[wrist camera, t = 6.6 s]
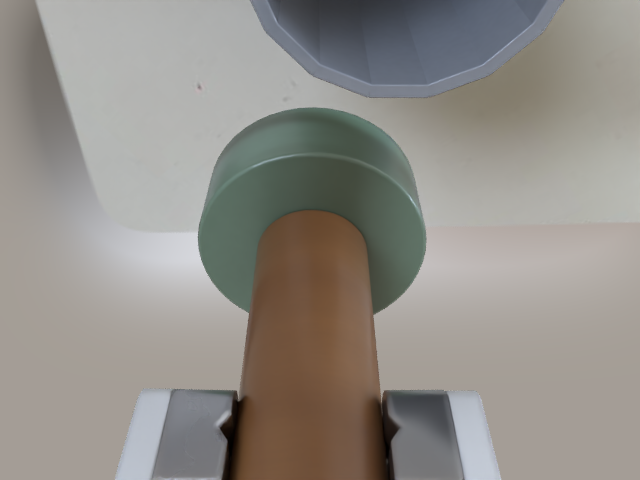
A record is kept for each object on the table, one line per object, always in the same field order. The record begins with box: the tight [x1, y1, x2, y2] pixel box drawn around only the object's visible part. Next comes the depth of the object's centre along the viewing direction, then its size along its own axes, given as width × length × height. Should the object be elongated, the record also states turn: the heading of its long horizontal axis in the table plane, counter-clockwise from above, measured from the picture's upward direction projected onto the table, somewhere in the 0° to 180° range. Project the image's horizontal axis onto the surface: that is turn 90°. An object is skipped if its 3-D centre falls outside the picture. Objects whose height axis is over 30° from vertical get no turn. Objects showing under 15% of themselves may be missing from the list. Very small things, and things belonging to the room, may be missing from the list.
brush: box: [198, 108, 426, 480], centre depth 10 cm, size 5×5×12 cm
